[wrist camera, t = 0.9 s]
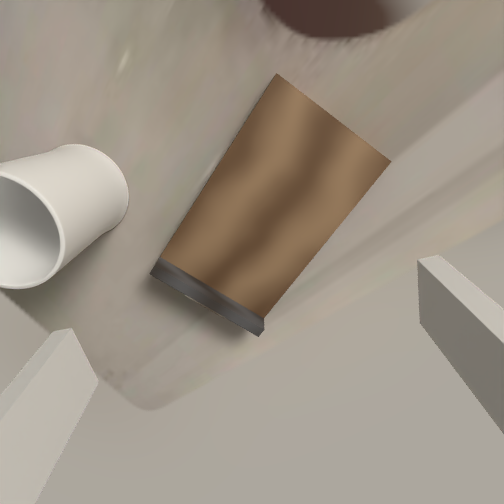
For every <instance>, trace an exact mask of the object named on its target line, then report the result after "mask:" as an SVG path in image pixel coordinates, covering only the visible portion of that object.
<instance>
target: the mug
mask: <svg viewBox="0 0 504 504" xmlns="http://www.w3.org/2000/svg"><path fill="white" fill-rule="evenodd" d="M128 202H129V192H128V186H127V183H126V180H125V178H124V176H123V174H122V172H121V170H120V169H119V167H118V166H117V165H116V164H115V163H114V162H113V161H112V160H111V159H110V158H109V157H108V156H107V155H105V154H104V153H102V152H101V151H99V150H97V149H95V148H92V147H89V146H86V145H81V144H68V145H63V146H60V147H57V148H55V149H53V150H52V151H50V152H46V153H42V154H38V155H33V156H29V157H25V158H20V159H16V160H12V161H8V162H3V163H0V287H2V288H8V289H25V288H31V287H34V286H37V285H40V284H42V283H44V282H45V281H47V280H48V279H50V278H51V277H52V276H53V275H55V274H56V273H57V272H58V271H59V270H61V269H62V268H63V267H64V266H65V265H66V264H68V263H69V262H70V261H71V260H72V259H73V258H75V257H76V256H77V255H78V254H79V253H81V252H82V251H83V250H84V249H85V248H86V247H88V246H89V245H90V244H91V243H92V242H93V241H95V240H96V239H97V238H98V237H99V236H101V235H102V234H103V233H105V232H107V231H109V230H111V229H113V228H114V227H115V226H116V225H118V224H119V223H120V221H121V220H122V219H123V217H124V215H125V213H126V211H127V208H128Z"/></svg>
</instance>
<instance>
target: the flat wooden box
mask: <svg viewBox="0 0 504 504" xmlns="http://www.w3.org/2000/svg"><path fill="white" fill-rule="evenodd" d="M390 163H391V161H390V160H389V159H387V158H386V157H385V156H384V155H382V154H381V153H380V152H378V151H377V150H376V149H374V148H373V147H372V146H371V145H369V144H368V143H367V142H365V141H364V140H363V139H361V138H360V137H359V136H358V135H356V134H355V133H354V132H352V131H351V130H350V129H348V128H347V127H346V126H345V125H343V124H342V123H341V122H339V121H338V120H337V119H335V118H334V117H333V116H332V115H330V114H329V113H328V112H326V111H325V110H324V109H323V108H321V107H320V106H319V105H317V104H316V103H315V102H313V101H312V100H311V99H310V98H308V97H307V96H306V95H304V94H303V93H302V92H300V91H299V90H298V89H297V88H295V87H294V86H293V85H291V84H290V83H289V82H287V81H286V80H285V79H284V78H282V77H281V76H280V75H278V74H277V73H276V75H275V76H274V78H273V79H272V81H271V83H270V84H269V86H268V87H267V89H266V90H265V92H264V94H263V95H262V97H261V98H260V100H259V102H258V103H257V105H256V106H255V108H254V109H253V111H252V113H251V114H250V116H249V117H248V119H247V120H246V122H245V124H244V125H243V127H242V128H241V130H240V131H239V133H238V135H237V136H236V138H235V139H234V141H233V142H232V144H231V146H230V147H229V149H228V150H227V152H226V154H225V155H224V157H223V158H222V160H221V161H220V163H219V165H218V166H217V168H216V169H215V171H214V172H213V174H212V176H211V177H210V179H209V180H208V182H207V183H206V185H205V187H204V188H203V190H202V191H201V193H200V195H199V196H198V198H197V199H196V201H195V202H194V204H193V206H192V207H191V209H190V210H189V212H188V213H187V215H186V217H185V218H184V220H183V221H182V223H181V224H180V226H179V228H178V229H177V231H176V232H175V234H174V235H173V237H172V239H171V240H170V242H169V243H168V245H167V247H166V248H165V250H164V251H163V253H162V254H161V256H160V258H159V259H158V261H157V262H156V264H155V266H154V267H153V269H152V270H151V272H150V275H152V276H154V277H155V278H157V279H159V280H161V281H162V282H164V283H166V284H168V285H169V286H171V287H173V288H175V289H176V290H178V291H180V292H181V293H183V294H185V296H186V297H188V298H190V299H191V300H193V301H195V302H197V303H198V304H200V305H202V306H203V307H205V308H207V309H209V310H210V311H212V312H214V313H216V314H217V315H219V316H221V317H223V318H227V319H228V320H230V321H232V322H234V323H235V324H237V325H239V326H240V327H242V328H244V329H246V330H247V331H249V332H251V333H253V334H254V335H256V336H258V337H259V336H260V334H261V333H262V332H263V331H264V318H265V316H266V315H267V314H268V313H269V311H270V310H271V309H272V308H273V306H274V305H275V304H276V303H277V302H278V300H279V299H280V298H281V297H282V295H283V294H284V293H285V292H286V291H287V289H288V288H289V287H290V286H291V284H292V283H293V282H294V281H295V279H296V278H297V277H298V276H299V275H300V273H301V272H302V271H303V270H304V268H305V267H306V266H307V265H308V263H309V262H310V261H311V260H312V259H313V257H314V256H315V255H316V254H317V252H318V251H319V250H320V249H321V248H322V246H323V245H324V244H325V243H326V241H327V240H328V239H329V238H330V236H331V235H332V234H333V233H334V232H335V230H336V229H337V228H338V227H339V225H340V224H341V223H342V222H343V221H344V219H345V218H346V217H347V216H348V214H349V213H350V212H351V211H352V209H353V208H354V207H355V206H356V205H357V203H358V202H359V201H360V200H361V198H362V197H363V196H364V195H365V193H366V192H367V191H368V190H369V189H370V187H371V186H372V185H373V184H374V182H375V181H376V180H377V179H378V178H379V176H380V175H381V174H382V173H383V171H384V170H385V169H386V168H387V166H388V165H389V164H390Z"/></svg>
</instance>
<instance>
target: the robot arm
mask: <svg viewBox="0 0 504 504" xmlns="http://www.w3.org/2000/svg"><path fill="white" fill-rule="evenodd" d="M417 265H418V288H419V312H420V324H421V325H422V326H423V328H424V329H425V330H426V332H427V333H428V334H429V336H430V337H431V338H432V340H433V341H434V342H435V344H436V345H437V346H438V347H439V349H440V350H441V351H442V353H443V354H444V355H445V356H446V358H447V359H448V361H449V362H450V363H451V365H452V366H453V367H454V369H455V370H456V371H457V373H458V374H459V375H460V377H461V378H462V379H463V381H464V382H465V383H466V385H467V386H468V387H469V389H470V390H471V391H472V393H473V394H474V395H475V397H476V398H477V399H478V400H479V402H480V403H481V404H482V406H483V407H484V408H485V410H486V411H487V412H488V414H489V415H490V416H491V418H492V419H493V420H494V422H495V423H496V424H497V426H498V427H499V428H500V430H501V431H502V432H503V434H504V309H503V308H502V307H500V306H499V305H498V304H497V303H496V302H495V301H493V300H492V299H491V298H490V297H489V296H487V295H486V294H485V293H484V292H483V291H481V290H480V289H479V288H478V287H476V286H475V285H474V284H473V283H472V282H471V281H469V280H468V279H467V278H466V277H465V276H463V275H462V274H461V273H460V272H459V271H457V270H456V269H455V268H454V267H453V266H451V265H450V264H449V263H448V262H447V261H446V260H444V259H443V258H442V257H441V256H440V255H437V256H432V257H427V258H422V259H417ZM98 383H99V381H98V379H97V377H96V375H95V373H94V371H93V369H92V367H91V365H90V363H89V361H88V359H87V357H86V355H85V353H84V351H83V349H82V347H81V345H80V343H79V341H78V339H77V338H76V336H75V334H74V332H73V330H72V328H68V329H63V330H58V331H53V332H52V333H51V335H50V336H49V337H48V338H47V339H46V341H45V342H44V343H43V344H42V346H41V347H40V348H39V349H38V350H37V351H36V353H35V354H34V355H33V357H32V358H31V359H30V360H29V361H28V362H27V364H26V365H25V366H24V367H23V368H22V370H21V371H20V372H19V373H18V374H17V376H16V377H15V378H14V379H13V380H12V382H11V383H10V384H9V385H8V387H7V388H6V389H5V390H4V391H3V392H2V394H1V395H0V504H35V503H36V502H37V500H38V498H39V496H40V494H41V492H42V490H43V488H44V486H45V484H46V482H47V480H48V479H49V477H50V475H51V473H52V471H53V469H54V467H55V465H56V463H57V461H58V459H59V458H60V456H61V454H62V452H63V450H64V448H65V446H66V444H67V442H68V440H69V438H70V436H71V434H72V433H73V431H74V429H75V427H76V425H77V423H78V421H79V419H80V417H81V415H82V414H83V412H84V410H85V408H86V406H87V404H88V402H89V400H90V398H91V396H92V394H93V392H94V391H95V389H96V387H97V385H98Z"/></svg>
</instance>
